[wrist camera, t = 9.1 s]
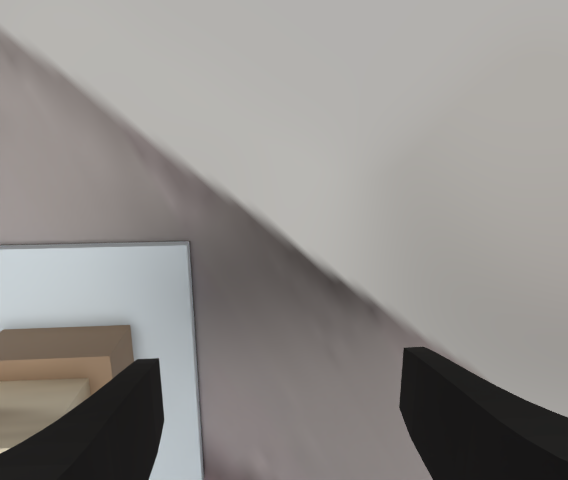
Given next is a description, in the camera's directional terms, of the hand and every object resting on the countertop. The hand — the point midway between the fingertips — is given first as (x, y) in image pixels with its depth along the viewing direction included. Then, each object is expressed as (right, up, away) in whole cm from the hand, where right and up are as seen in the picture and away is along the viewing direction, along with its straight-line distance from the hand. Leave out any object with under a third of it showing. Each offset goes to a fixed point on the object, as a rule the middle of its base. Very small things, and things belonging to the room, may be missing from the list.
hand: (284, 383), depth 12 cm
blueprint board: (-11, -3, +10) cm, 15 cm away
